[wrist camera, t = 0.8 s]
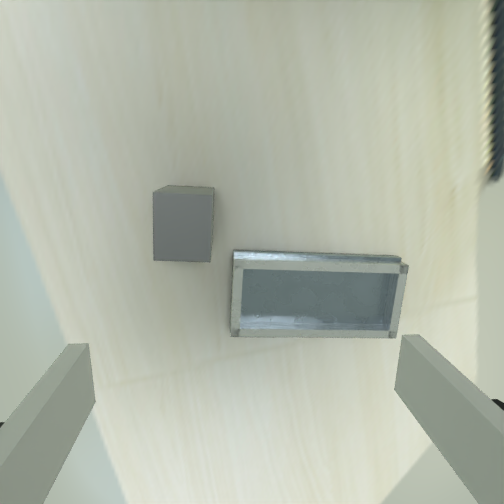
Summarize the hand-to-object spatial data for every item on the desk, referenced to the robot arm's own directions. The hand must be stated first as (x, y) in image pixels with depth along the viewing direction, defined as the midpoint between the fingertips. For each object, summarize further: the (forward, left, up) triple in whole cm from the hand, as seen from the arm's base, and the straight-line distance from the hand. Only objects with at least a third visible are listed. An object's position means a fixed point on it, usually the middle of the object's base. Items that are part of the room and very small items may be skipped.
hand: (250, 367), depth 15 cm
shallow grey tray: (+7, +10, -26) cm, 29 cm away
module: (-2, -5, -26) cm, 27 cm away
